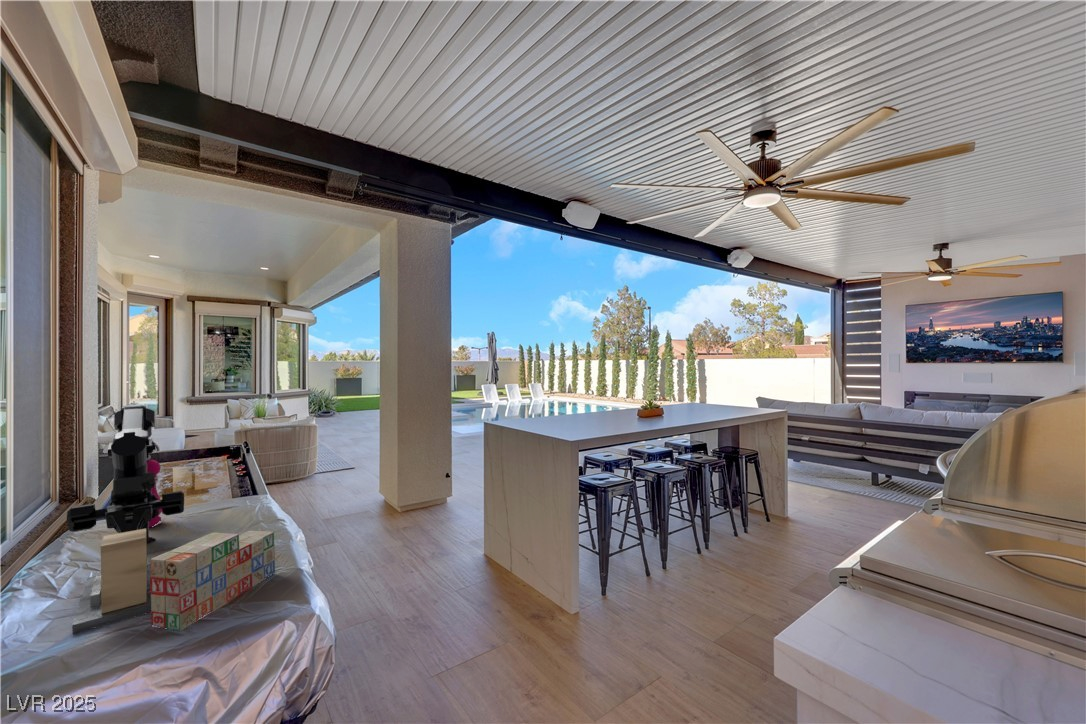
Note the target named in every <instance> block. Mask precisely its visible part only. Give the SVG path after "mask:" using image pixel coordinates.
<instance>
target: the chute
mask: <svg viewBox="0 0 1086 724" xmlns="http://www.w3.org/2000/svg"><path fill="white" fill-rule="evenodd" d="M150 577H151V563H148V564H147V600H146V602H144V603H141V604H137V605H133V606H129V607H125V608H122V609H118V610H114V611H110V612H106V613H103V614H101V574H99V575H93V576H89V577H87V579H86V582H85V585H84V588H83V591H82V595H81V597H80V600H79V604H78V607H77V608H76V609H77V610H76V612H75V616H74V619H73V622H72V624H71V625H72V627H71V628H72V635H73V634H77V633H81V632H84V630H85V631H88V630H91V628H92V629H94V627H96V628H99V627H102V626H106V625H110V624H114V623H117V621H118V622H121V621H124V620H128V619H132V618H135V617H134V616H136V617H140V616H143V615H146V614H145V613H147V614H150V613H151V611H152V610H151V593H150ZM149 612H150V613H149ZM142 614H143V615H142ZM131 617H132V618H131ZM87 629H88V630H87ZM80 631H81V632H80Z"/></svg>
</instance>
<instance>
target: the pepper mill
mask: <svg viewBox="0 0 1086 724" xmlns="http://www.w3.org/2000/svg"><path fill="white" fill-rule="evenodd" d="M151 458H152V457H151V454H149V457H148V458H147V461H146V462H147V473H151V472H155V488H151V492H152V494H155V496H156V498H158V499H159V500H162V498H161V497H160V496H159V494H158V491H157V482H158V481H159V476H158V474H159V473H160V472H161V464H160V462H158V461H157V460H154V459H151ZM152 511H153V510H152ZM160 514H162V509H159V515H158V516H155V518H152V520H151V521H149V527H152V526H154V525H155V524H157V523H158V522H159V521H161V522H162V517H161V516H160ZM152 528H153V527H152Z"/></svg>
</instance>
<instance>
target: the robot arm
mask: <svg viewBox="0 0 1086 724" xmlns="http://www.w3.org/2000/svg"><path fill="white" fill-rule="evenodd" d="M120 408H121V410H118V411H117V412H114V413H113V414H114V416H113V418H114V420H113V427H114V430H115V431H118V432H117V433H115V434H114V435H113V441H112V442H109V444H108V447H107V457H108V458H111V460H112V466H113V480H112V489H111V493H110V501H109V505H108V506H106V508H101V509H96V504H95V503H88V504H82V505H77V506H72V507H70V508H69V509H68V510H67V513H66V522H67V526H68V531H69V532H72V533H75V532H80V531H87V530H91V529H92V528H94V527H95V526H96V525H97V521H98V520H103V519H105V524H106V528H107V529H114V531H115V532H116V534H118V533H124V532H129V531H135V530H140V529H145V528H146V545H147V544H150V543H153V542H156V540H157V539H156V538H154V537H151V536H150V528H149V521H151V520H152V518H155V516H158V515H159V509H162V512H161V514H162V515H164V516H172V515H177V514H182V513H183V512H184V511H185V493H184V492H183V491H182V490H177V491H170V492H163V493H161V500H159V499H158V498H156V496H155V494H152V492H151V488H155V472H151V473H147V462H146V461H147V458H148V457H149V455H150V454H153V453H154V451H156V449H157V448H156V445H157V444H156V442H154V440H153V438H151V436H152V433H153V430H152V428H155V426H156V422H155V421H156V420H155V419H156V416H155V415H156V414H155V412H156V410H152V409H150V408H148V407H147V405H143V404H137V405H136V404H134V405H125V406H121V407H120ZM152 510H153V511H152ZM159 516H160V515H159Z"/></svg>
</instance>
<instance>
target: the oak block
mask: <svg viewBox="0 0 1086 724" xmlns="http://www.w3.org/2000/svg"><path fill="white" fill-rule="evenodd" d="M147 550H148V549H147V544H146V528H145V529H140V530H135V531H129V532H124V533H114V534H108V535H104V536H103V537H102V540H101V543H100V575H101V614H103V613H106V612H110V611H114V610H118V609H122V608H125V607H129V606H133V605H137V604H141V603H144V602H146V600H147V563H148V562H147V559H148V558H147V557H148V555H147Z"/></svg>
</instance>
